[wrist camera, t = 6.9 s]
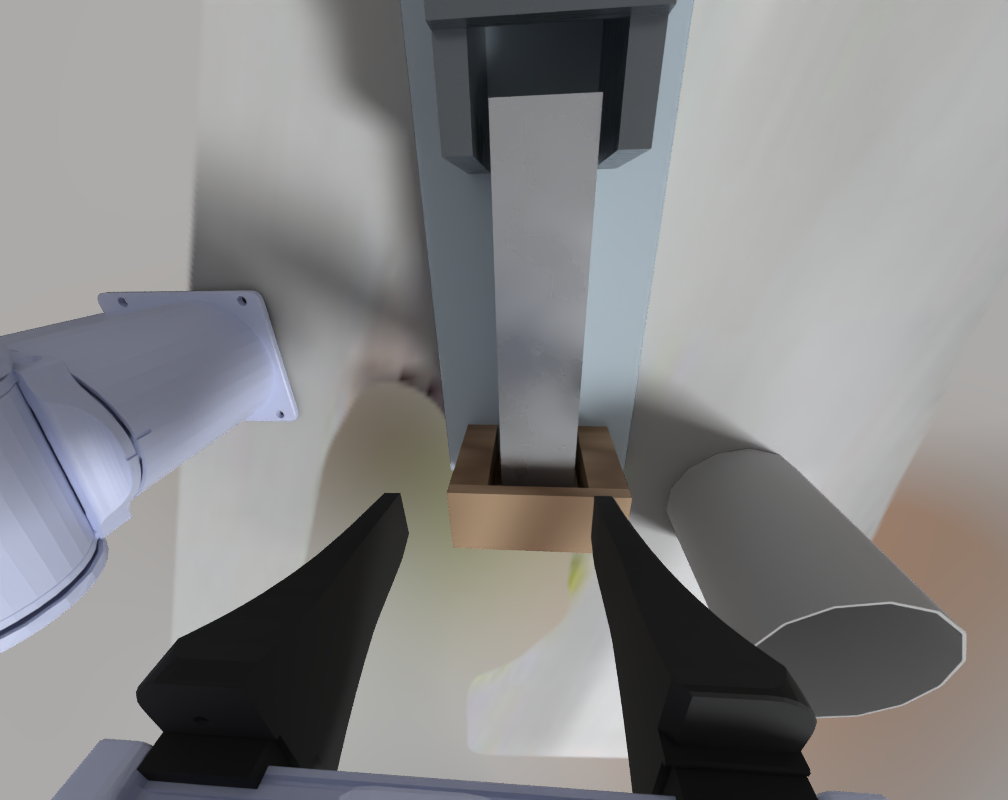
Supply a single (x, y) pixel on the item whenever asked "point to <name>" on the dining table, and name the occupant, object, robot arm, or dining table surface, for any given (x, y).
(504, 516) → the socket
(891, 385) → the dining table surface
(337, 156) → the dining table surface
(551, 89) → the board
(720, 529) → the cup
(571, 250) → the bar
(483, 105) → the sleeve
